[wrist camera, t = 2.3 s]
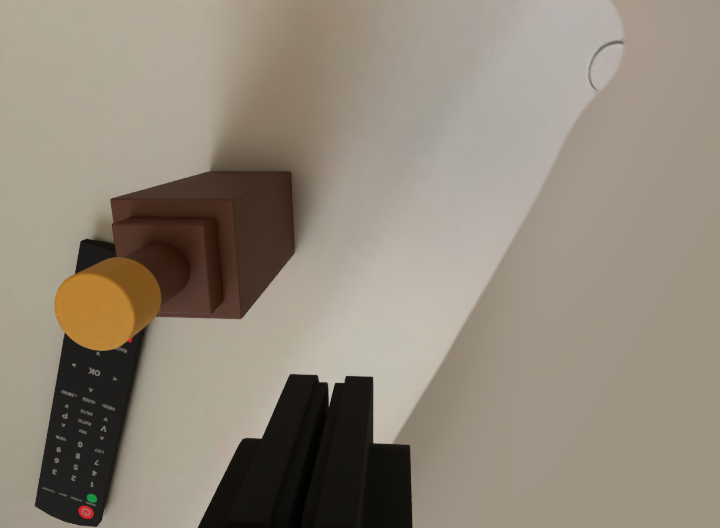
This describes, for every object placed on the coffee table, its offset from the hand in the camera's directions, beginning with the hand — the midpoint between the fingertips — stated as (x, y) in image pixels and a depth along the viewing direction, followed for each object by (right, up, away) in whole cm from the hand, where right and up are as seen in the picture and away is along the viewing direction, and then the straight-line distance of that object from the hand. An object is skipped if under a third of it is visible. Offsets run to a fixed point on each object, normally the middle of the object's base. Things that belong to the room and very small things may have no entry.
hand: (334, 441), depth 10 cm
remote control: (-20, -6, +29) cm, 36 cm away
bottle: (-7, +7, +24) cm, 26 cm away
